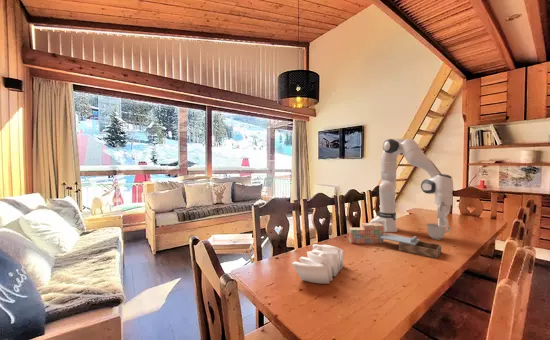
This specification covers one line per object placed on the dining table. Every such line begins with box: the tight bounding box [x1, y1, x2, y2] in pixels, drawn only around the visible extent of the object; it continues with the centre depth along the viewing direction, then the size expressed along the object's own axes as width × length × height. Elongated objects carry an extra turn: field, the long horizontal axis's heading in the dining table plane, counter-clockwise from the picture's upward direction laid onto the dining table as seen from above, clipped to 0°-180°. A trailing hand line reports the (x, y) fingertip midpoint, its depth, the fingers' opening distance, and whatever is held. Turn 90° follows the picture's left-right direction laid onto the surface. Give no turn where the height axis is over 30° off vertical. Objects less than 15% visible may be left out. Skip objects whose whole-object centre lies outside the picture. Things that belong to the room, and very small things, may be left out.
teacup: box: [426, 222, 450, 241], centre depth 173 cm, size 12×15×10 cm
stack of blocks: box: [348, 222, 385, 244], centre depth 169 cm, size 21×6×12 cm, turn 89°
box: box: [398, 240, 442, 260], centre depth 150 cm, size 20×12×5 cm, turn 48°
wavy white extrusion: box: [291, 243, 345, 285], centre depth 125 cm, size 35×16×10 cm, turn 144°
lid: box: [380, 233, 421, 245], centre depth 157 cm, size 20×11×3 cm, turn 48°
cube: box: [437, 218, 449, 229], centre depth 152 cm, size 4×4×4 cm
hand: (443, 223), depth 152 cm, fingers closed on cube, 5 cm apart
